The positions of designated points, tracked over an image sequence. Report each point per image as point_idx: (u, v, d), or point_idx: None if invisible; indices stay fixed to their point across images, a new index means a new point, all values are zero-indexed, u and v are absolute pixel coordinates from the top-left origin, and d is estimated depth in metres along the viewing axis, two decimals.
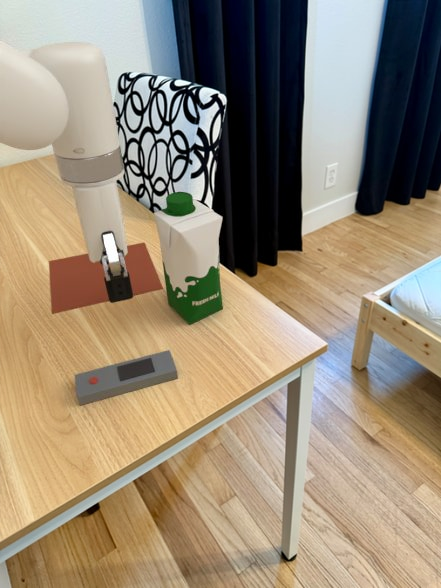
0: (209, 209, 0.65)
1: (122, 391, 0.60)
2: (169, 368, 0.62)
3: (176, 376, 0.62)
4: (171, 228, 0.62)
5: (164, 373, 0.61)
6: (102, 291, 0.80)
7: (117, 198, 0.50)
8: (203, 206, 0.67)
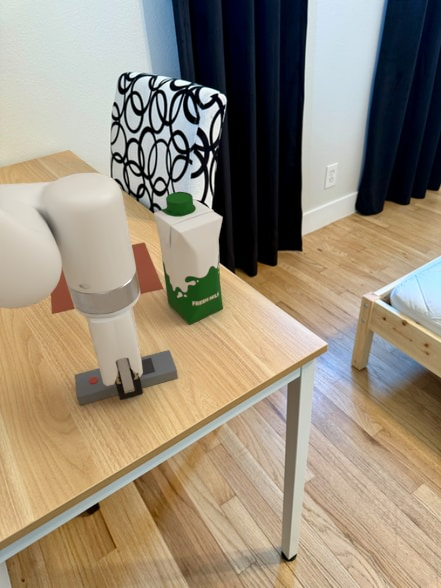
0: (209, 209, 0.65)
1: None
2: (169, 368, 0.62)
3: (176, 376, 0.62)
4: (171, 228, 0.62)
5: (164, 373, 0.61)
6: None
7: (133, 325, 0.47)
8: (203, 206, 0.67)
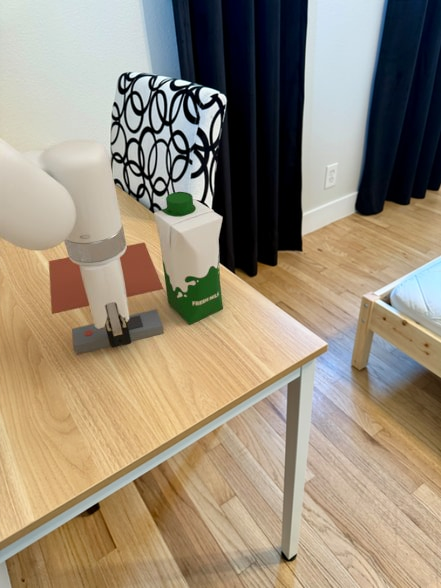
0: (209, 209, 0.65)
1: None
2: (156, 323, 0.69)
3: (162, 331, 0.70)
4: (171, 228, 0.62)
5: (151, 327, 0.69)
6: None
7: (120, 273, 0.55)
8: (203, 206, 0.67)
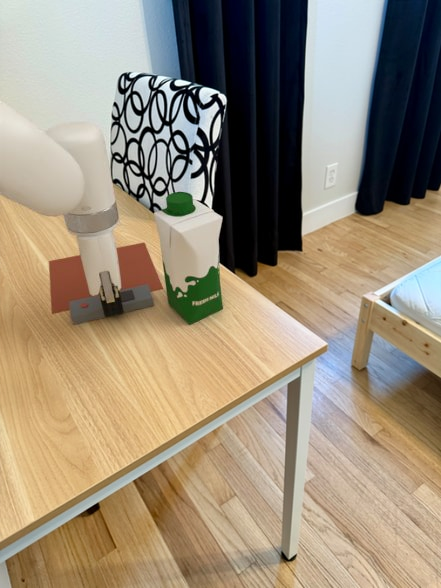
0: (209, 209, 0.65)
1: None
2: (146, 296, 0.75)
3: (152, 303, 0.76)
4: (171, 228, 0.62)
5: (142, 300, 0.74)
6: None
7: (112, 244, 0.61)
8: (203, 206, 0.67)
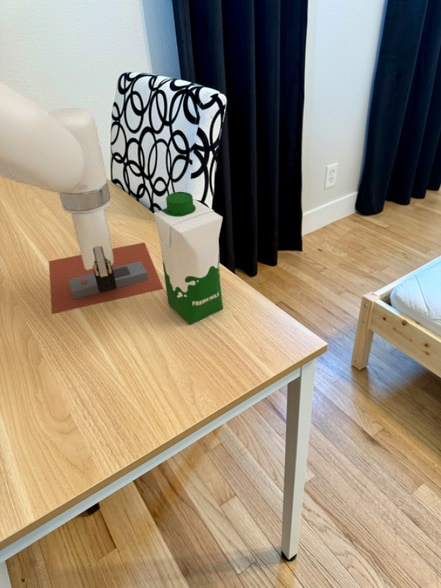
0: (209, 209, 0.65)
1: None
2: (141, 271, 0.81)
3: (147, 278, 0.82)
4: (171, 228, 0.62)
5: (137, 274, 0.81)
6: None
7: (105, 221, 0.66)
8: (203, 206, 0.67)
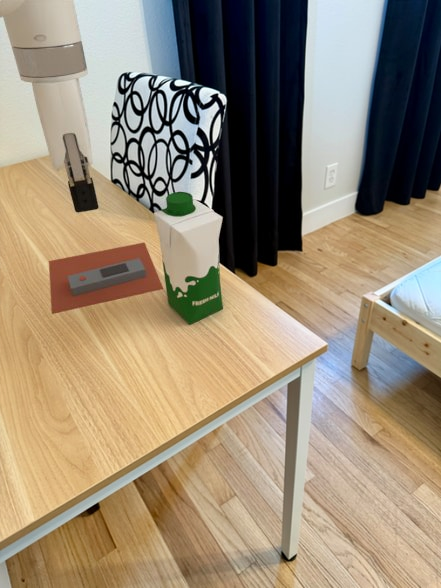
0: (209, 209, 0.65)
1: (104, 285, 0.80)
2: (139, 268, 0.82)
3: (145, 274, 0.83)
4: (171, 228, 0.62)
5: (136, 271, 0.82)
6: (102, 291, 0.80)
7: (79, 97, 0.48)
8: (203, 206, 0.67)
